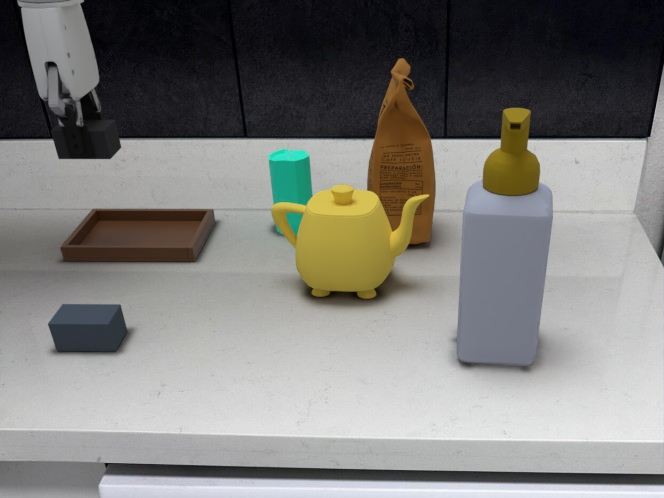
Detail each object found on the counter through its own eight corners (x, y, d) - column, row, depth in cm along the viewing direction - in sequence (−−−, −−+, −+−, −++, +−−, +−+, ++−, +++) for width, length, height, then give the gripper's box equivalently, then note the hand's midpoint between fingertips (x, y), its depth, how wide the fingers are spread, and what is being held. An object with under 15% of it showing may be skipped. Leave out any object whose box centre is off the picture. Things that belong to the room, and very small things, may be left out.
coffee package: (433, 218, 122) (437, 55, 107) (434, 250, 113) (439, 77, 98) (369, 217, 122) (364, 55, 107) (365, 250, 113) (359, 77, 98)
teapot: (423, 309, 99) (425, 209, 91) (268, 303, 101) (255, 204, 92) (431, 265, 109) (433, 171, 101) (289, 259, 111) (280, 166, 102)
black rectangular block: (58, 159, 104) (50, 130, 102) (71, 147, 108) (63, 119, 106) (110, 159, 104) (103, 130, 102) (121, 147, 108) (115, 119, 105)
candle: (310, 237, 117) (303, 150, 109) (271, 234, 117) (261, 148, 109) (319, 221, 121) (313, 137, 113) (281, 219, 122) (273, 136, 114)
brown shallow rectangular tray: (63, 261, 111) (59, 247, 110) (96, 221, 122) (92, 208, 120) (195, 261, 110) (192, 247, 109) (215, 222, 121) (213, 209, 120)
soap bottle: (454, 365, 89) (466, 123, 72) (461, 327, 96) (472, 97, 79) (534, 370, 88) (564, 126, 71) (535, 331, 95) (563, 100, 78)
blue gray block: (56, 351, 92) (47, 323, 90) (70, 330, 96) (62, 303, 93) (115, 351, 92) (108, 324, 90) (127, 331, 96) (120, 304, 93)
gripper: (43, -23, 100) (83, 132, 112) (-14, 1, 87) (38, 172, 100) (101, -23, 100) (135, 132, 112) (53, 0, 87) (97, 172, 99)
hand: (89, 149), depth 106 cm, fingers closed on black rectangular block, 5 cm apart
